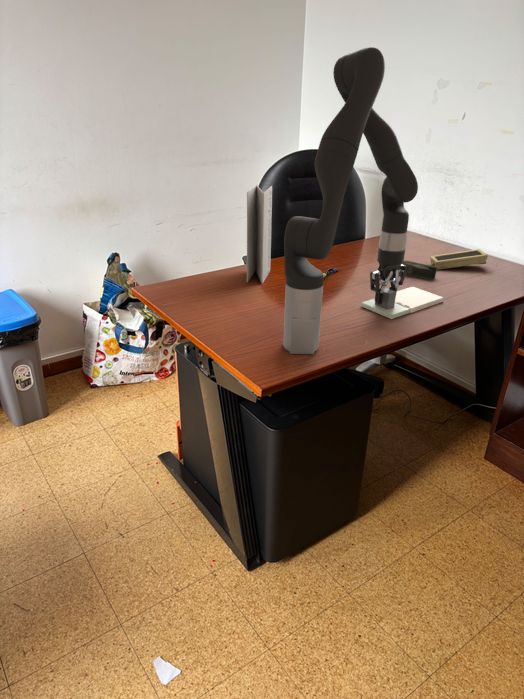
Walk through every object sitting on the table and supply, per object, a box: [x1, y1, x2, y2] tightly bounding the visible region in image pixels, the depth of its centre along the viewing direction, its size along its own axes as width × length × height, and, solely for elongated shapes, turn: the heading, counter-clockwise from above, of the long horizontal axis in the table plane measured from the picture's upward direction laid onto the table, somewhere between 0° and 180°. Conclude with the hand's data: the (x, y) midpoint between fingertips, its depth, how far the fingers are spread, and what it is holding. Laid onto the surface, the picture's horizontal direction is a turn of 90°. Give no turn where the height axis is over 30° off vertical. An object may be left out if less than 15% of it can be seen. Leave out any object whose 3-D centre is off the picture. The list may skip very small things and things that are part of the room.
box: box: [426, 248, 489, 271], centre depth 198 cm, size 8×22×5 cm, turn 91°
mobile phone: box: [402, 260, 438, 280], centre depth 188 cm, size 5×3×15 cm
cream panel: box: [395, 286, 444, 314], centre depth 166 cm, size 16×12×2 cm
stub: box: [360, 287, 410, 320], centre depth 158 cm, size 8×12×6 cm, turn 37°
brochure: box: [246, 184, 273, 284], centre depth 179 cm, size 14×6×30 cm, turn 168°
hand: (384, 301), depth 158 cm, fingers open, 5 cm apart
